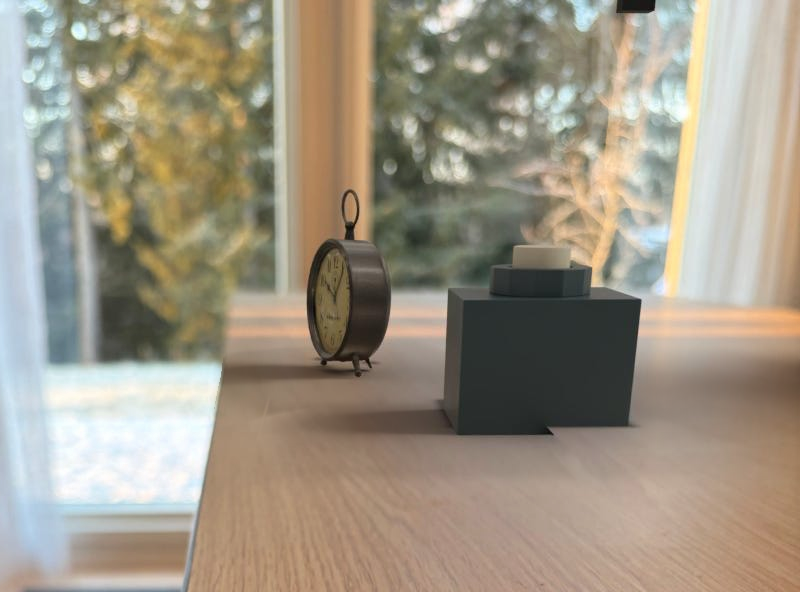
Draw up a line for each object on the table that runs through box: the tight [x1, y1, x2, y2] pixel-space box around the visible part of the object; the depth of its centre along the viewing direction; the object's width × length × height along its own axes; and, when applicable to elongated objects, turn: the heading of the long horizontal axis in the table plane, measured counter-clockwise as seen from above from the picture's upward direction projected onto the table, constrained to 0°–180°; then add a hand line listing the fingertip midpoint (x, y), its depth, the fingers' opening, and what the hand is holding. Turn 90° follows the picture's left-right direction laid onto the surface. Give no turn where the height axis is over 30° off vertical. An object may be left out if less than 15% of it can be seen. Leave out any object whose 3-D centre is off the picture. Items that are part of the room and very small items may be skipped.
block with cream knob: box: [442, 263, 643, 436], centre depth 77 cm, size 12×10×11 cm
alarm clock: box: [306, 188, 392, 378], centre depth 99 cm, size 11×5×16 cm, turn 22°
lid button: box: [512, 244, 572, 269], centre depth 75 cm, size 4×4×2 cm
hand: (635, 11), depth 86 cm, fingers closed
